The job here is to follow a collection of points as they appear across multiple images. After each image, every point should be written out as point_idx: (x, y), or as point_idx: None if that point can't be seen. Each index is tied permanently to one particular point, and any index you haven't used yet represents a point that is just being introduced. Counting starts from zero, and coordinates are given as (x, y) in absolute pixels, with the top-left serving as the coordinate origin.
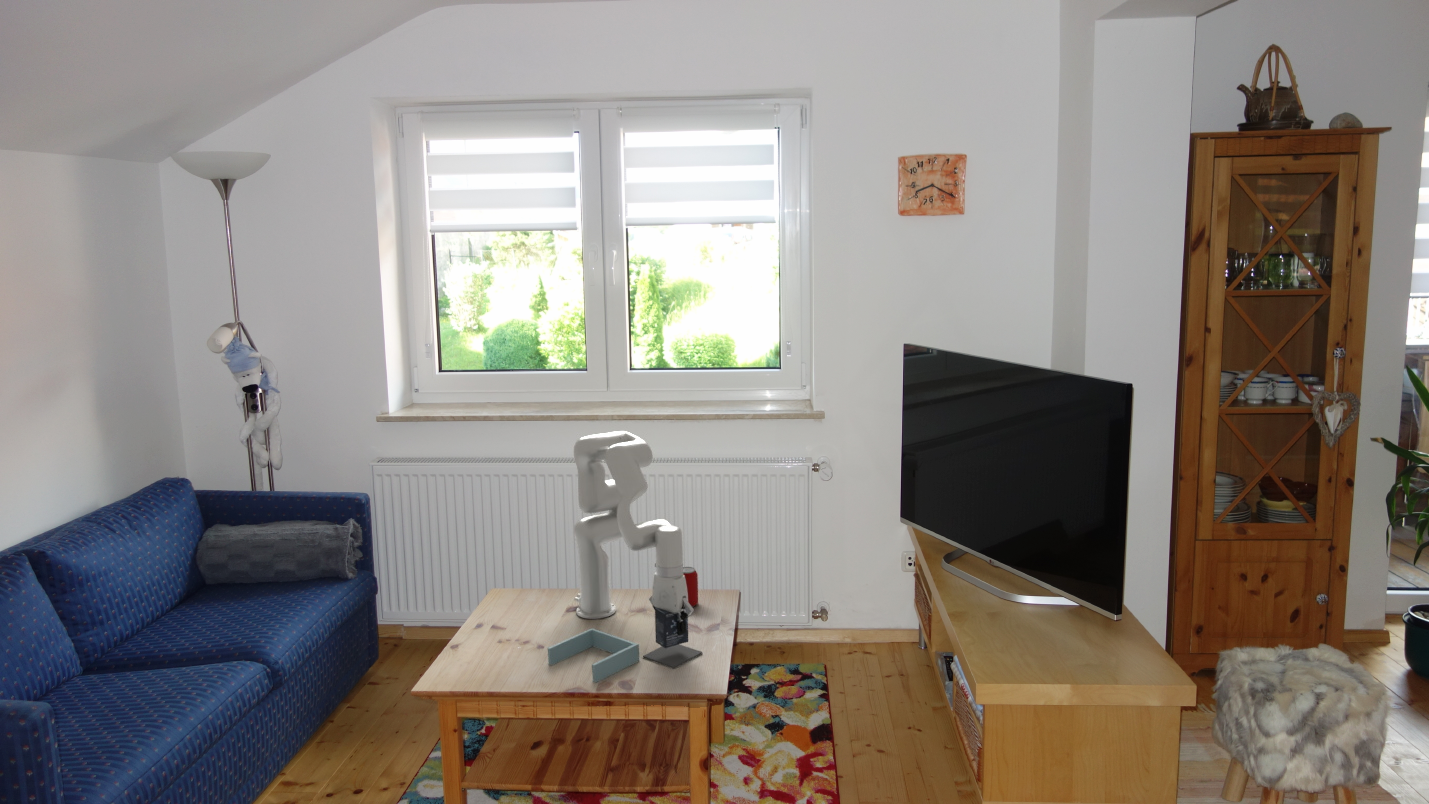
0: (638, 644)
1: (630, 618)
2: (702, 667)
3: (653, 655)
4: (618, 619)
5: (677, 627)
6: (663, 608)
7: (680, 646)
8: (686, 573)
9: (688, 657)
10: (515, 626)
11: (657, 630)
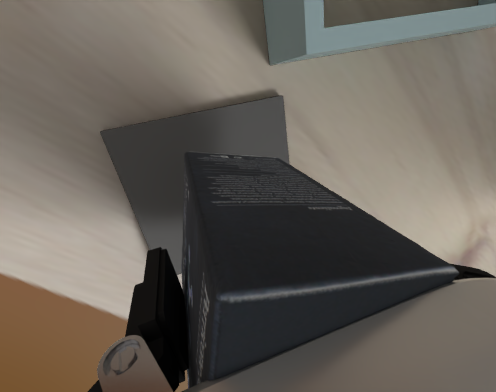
0: (305, 53)
1: (466, 221)
2: (44, 226)
3: (256, 130)
4: (488, 196)
5: (153, 278)
6: (342, 348)
7: None
8: None
9: (151, 223)
10: None
11: (286, 176)
